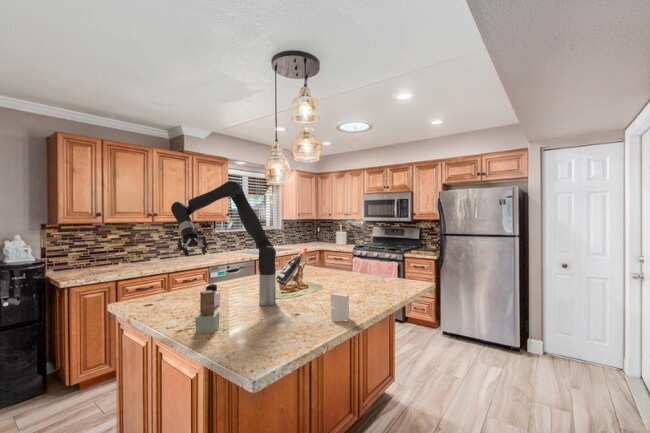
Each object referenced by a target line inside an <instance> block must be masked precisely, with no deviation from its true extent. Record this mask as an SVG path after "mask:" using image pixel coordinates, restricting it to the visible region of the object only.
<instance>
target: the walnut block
mask: <svg viewBox="0 0 650 433" xmlns="http://www.w3.org/2000/svg"><path fill="white" fill-rule="evenodd" d="M199 295H200V296H199V297H200V302H199V304H200V309H199V313H200V314H201V315H202V316H204V317H205V316H210V315H214V311H215V308H214V292H213V291H211V290H208V291H205V290H203V291H200V294H199Z"/></svg>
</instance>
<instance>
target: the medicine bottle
mask: <svg viewBox="0 0 650 433" xmlns="http://www.w3.org/2000/svg"><path fill="white" fill-rule="evenodd" d="M208 290H211V291H213V292H214V309H216V308H217V307H218V306H220V304H221V292H220V291H218V285H217V284H214V283H210V284H206V285H205V290H204V291H208Z"/></svg>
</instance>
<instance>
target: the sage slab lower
mask: <svg viewBox="0 0 650 433" xmlns="http://www.w3.org/2000/svg"><path fill="white" fill-rule="evenodd" d="M219 326H220V319H219V320H218V321H217V322H216V324H215V325H196V326H195V334H200V333H201V334H207V333H216V332H217V330H218V328H219Z"/></svg>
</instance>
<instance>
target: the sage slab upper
mask: <svg viewBox="0 0 650 433" xmlns="http://www.w3.org/2000/svg"><path fill="white" fill-rule="evenodd" d="M218 320H219V321H220V311H218V310H217V311H215V310H214V315H210V316H205V317H204V316H202V315H201V314H200V312H199V313H198V315H196V316H195V321H194V322H195V327H196V325H215V324H216V322H217V321H218Z"/></svg>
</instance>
